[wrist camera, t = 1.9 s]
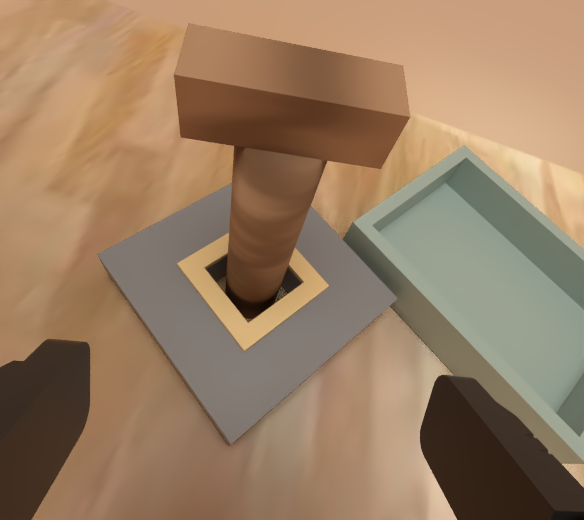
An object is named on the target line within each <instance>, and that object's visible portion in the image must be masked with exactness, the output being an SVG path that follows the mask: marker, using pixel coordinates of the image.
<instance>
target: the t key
mask: <svg viewBox="0 0 584 520" xmlns="http://www.w3.org/2000/svg"><path fill="white" fill-rule="evenodd" d="M174 79H175V88H176V97H177V107H178V116H179V125H180V135H181V137H182V138H188V139H195V140H201V141H207V142H214V143H220V144H226V145H233V146H234V160H233V176H232V193H231V210H230V227H229V243H228V260H227V277H226V293H225V294H226V296H227V297H228V298H229V299H230V301H231V302H232V303H233V305H234V306H235V307H236V308H237V310H238V311H239V312H240V313H241V315H242V316H243V317H244V318H249V319H253V318H256V317H257V316H259V315H260V314H261V313H263V312H264V311H265V310H267V309H268V308H270V307H271V306H272V305H274V302H275V299H276V297H277V294H278V291H279V289H280V286H281V283H282V281H283V278H284V275H285V273H286V270H287V267H288V265H289V262H290V259H291V257H292V254H293V251H294V248H295V246H296V243H297V240H298V238H299V235H300V232H301V230H302V227H303V224H304V222H305V219H306V216H307V214H308V211H309V208H310V206H311V203H312V200H313V198H314V195H315V192H316V190H317V187H318V184H319V181H320V179H321V176H322V173H323V171H324V168H325V165H326V163H327V161H334V162H340V163H346V164H353V165H359V166H365V167H371V168H378V169H381V167H382V166H383V164H384V162H385V160H386V159H387V157H388V155H389V153H390V151H391V150H392V148H393V146H394V144H395V143H396V141H397V139H398V137H399V136H400V134H401V132H402V130H403V129H404V127H405V125H406V123H407V121H408V120H409V118H410V112H409V106H408V98H407V91H406V83H405V76H404V69H403V66H402V65H397V64H392V63H387V62H382V61H377V60H372V59H367V58H362V57H356V56H351V55H346V54H342V53H336V52H331V51H326V50H321V49H316V48H311V47H306V46H301V45H296V44H291V43H286V42H281V41H276V40H271V39H265V38H260V37H255V36H250V35H245V34H240V33H235V32H230V31H225V30H220V29H214V28H210V27H205V26H199V25H194V24H188V27H187V31H186V34H185V38H184V41H183V45H182V48H181V52H180V55H179V59H178V62H177V66H176V69H175V73H174Z"/></svg>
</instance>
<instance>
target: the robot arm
mask: <svg viewBox="0 0 584 520" xmlns="http://www.w3.org/2000/svg"><path fill="white" fill-rule="evenodd" d="M89 406H90V347H89V345H88V343H87V342H78V341H67V340H56V339H47V340H45V341H44V342H43V343H42V344H41V345H40V346H39V347H38V348H37V349H36V350H35V351H34V352H33V353H32V354H31V355H30V356H29V357H28V358H27V359H26V360H25V361H12V362H10V363H8V364H6V365H4V366H2V367H0V520H31V519H32V518H33V516H34V514H35V512H36V511H37V509H38V507H39V506H40V504H41V502H42V500H43V499H44V497H45V495H46V494H47V492H48V490H49V489H50V487H51V485H52V483H53V482H54V480H55V478H56V477H57V475H58V473H59V471H60V470H61V468H62V466H63V465H64V463H65V461H66V459H67V458H68V456H69V454H70V453H71V451H72V449H73V447H74V446H75V444H76V442H77V441H78V439H79V437H80V435H81V434H82V432H83V429H84V427H85V424H86V421H87V417H88V413H89ZM420 444H421V449H422V452H423V455H424V457H425V459H426V461H427V463H428V465H429V467H430V469H431V470H432V472H433V474H434V476H435V478H436V480H437V482H438V484H439V486H440V488H441V489H442V491H443V493H444V495H445V497H446V499H447V501H448V503H449V505H450V507H451V508H452V510H453V512H454V514H455V516H456V518H457V520H584V488H583V487H582V486H581V485H580V484H579V482H578V481H577V480H576V479H575V478H574V477H573V476H572V475H571V474H570V473H569V472H568V471H567V470H566V468H565V467H564V466H563V465H562V464H561V463H560V462H559V461H558V460H557V459H556V458H555V457H554V456H553V455H552V454H549V453H548V449H547V448H546V447H545V446H544V445H543V444H542V443H541V442H540V441H539V440H538V438H534V434H533V433H532V432H531V431H530V430H529V429H528V428H527V427H526V426H525V424H524V423H523V422H522V421H521V420H520V419H519V418H518V417H517V416H516V415H514V414H513V413H511V412H510V411H509V410H507V409H506V408H504V407H503V406H502V405H500V404H499V403H497V402H496V401H495V400H494V399H493V398H492V397H491V396H490V394H489V393H488V392H487V391H486V390H485V389H484V388H483V387H482V386H481V385H480V383H479V382H478V381H477V380H476V379H474V378H471V377H460V376H449V375H441V376H439V377H438V378H437V379H436V381H435V383H434V386H433V390H432V393H431V396H430V399H429V403H428V406H427V409H426V412H425V416H424V419H423V422H422V425H421V430H420Z"/></svg>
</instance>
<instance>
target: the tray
mask: <svg viewBox="0 0 584 520" xmlns="http://www.w3.org/2000/svg"><path fill="white" fill-rule="evenodd" d="M343 241H344V242H345V243H346V244H347V245H348V246H349V247H350V248H351V249H352V250H353V251H354V252H355V253H356V254H357V255H358V256H359V258H360V259H361V260H362V261H363V262H364V263H365V264H366V265H367V266H368V267H369V268H370V269H371V270H372V271H373V272H374V274H375V275H376V276H377V277H378V278H379V279H380V280H381V281H382V282H383V283H384V284H385V285H386V286H387V287H388V288H389V289H390V291H391V292H392V293H393V294H394V295H395V296H396V297H397V298H398V299H397V300H396V301H395V302H393V303H392V304H391V305H390V306H391V307H392V308H393V309H394V310H395V311H396V313H397V314H398V315H399V316H400V317H401V318H402V319H403V320H404V321H405V322H406V323H407V324H408V326H409V327H410V328H411V329H412V330H413V331H414V332H415V333H416V334H417V335H418V336H419V337H420V338H421V340H422V341H423V342H424V343H425V344H426V345H427V346H428V347H429V348H430V349H431V350H432V351H433V352H434V354H435V355H436V356H437V357H438V358H439V359H440V360H441V361H442V362H443V363H444V364H445V365H446V367H447V368H448V369H449V370H450V371H451V372H452V373H453V374H454V375H455V376H460V377H471V378H474V379H476V380H477V381H478V382H479V383H480V385H481V386H482V387H483V388H484V389H485V390H486V391H487V392H488V393H489V394H490V396H491V397H492V398H493V399H494V400H495V401H496V402H497V403H499V404H500V405H502V406H503V407H504V408H506V409H507V410H509V411H510V412H511V413H513V414H514V415H516V416H517V417H518V418H519V419H520V420H521V421H522V422H523V423H524V424H525V426H526V427H527V428H528V429H529V430H530V431H531V432H532V433H533V434H534V438H538V440H539V441H540V442H541V443H542V444H543V445H544V446H545V447H546V448H547V449H548V453H549V454H552V455H553V456H554V457H555V458H556V459H557V460H558V461H559V462H560V463H561V464H584V249H583V248H582V247H581V246H580V245H578V244H577V243H576V242H575V241H574V240H573V239H571V238H570V237H569V236H568V235H567V234H566V233H565V232H563V231H562V230H561V229H560V228H559V227H558V226H557V225H555V224H554V223H553V222H552V221H551V220H550V219H549V218H547V217H546V216H545V215H544V214H543V213H542V212H540V211H539V210H538V209H537V208H536V207H535V206H534V205H532V204H531V203H530V202H529V201H528V200H527V199H526V198H524V197H523V196H522V195H521V194H520V193H519V192H518V191H516V190H515V189H514V188H513V187H512V186H511V185H509V184H508V183H507V182H506V181H505V180H504V179H503V178H501V177H500V176H499V175H498V174H497V173H496V172H495V171H493V170H492V169H491V168H490V167H489V166H488V165H487V164H485V163H484V162H483V161H482V160H481V159H480V158H478V157H477V156H476V155H475V154H474V153H473V152H472V151H470V150H469V149H468V148H467V147H466V146H465V145H464V146H462V147H461V148H459V149H458V150H456V151H455V152H454V153H452V154H451V155H449V156H448V157H446V158H445V159H443V160H442V161H441V162H439V163H438V164H436V165H435V166H433V167H432V168H430V169H429V170H428V171H426V172H425V173H423V174H422V175H420V176H419V177H417V178H416V179H415V180H413V181H412V182H410V183H409V184H407V185H406V186H404V187H403V188H402V189H400V190H399V191H397V192H396V193H394V194H393V195H391V196H390V197H389V198H387V199H386V200H384V201H383V202H381V203H380V204H378V205H377V206H376V207H374V208H373V209H371V210H370V211H368V212H367V213H365V214H364V215H363V216H361V217H360V218H358V219H357V220H355V221H354V222H353V223H352V225H351V227H350V228H349V230H348V232H347V233H346V235H345V237H344V239H343Z"/></svg>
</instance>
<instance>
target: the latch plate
mask: <svg viewBox="0 0 584 520" xmlns="http://www.w3.org/2000/svg"><path fill="white" fill-rule="evenodd" d="M231 193H232V183H231V184H229V185H227V186H225V187H223V188H221V189H219V190H218V191H216V192H214V193H212V194H210V195H208V196H206V197H204V198H203V199H201V200H199V201H197V202H195V203H193V204H191V205H189V206H187V207H186V208H184V209H182V210H180V211H178V212H176V213H174V214H172V215H170V216H169V217H167V218H165V219H163V220H161V221H159V222H157V223H155V224H153V225H152V226H150V227H148V228H146V229H144V230H142V231H140V232H138V233H136V234H135V235H133V236H131V237H129V238H127V239H125V240H123V241H121V242H120V243H118V244H116V245H114V246H112V247H110V248H108V249H106V250H104V251H103V252H101V253H99V254H97V255H98V257H99V259H100V261H101V262H102V264H103V266H104V268H105V269H106V271H107V273H108V274H109V276H110V277H111V279H112V280H113V282H114V283H115V284H116V286H117V287H118V289H119V290H120V292H121V293H122V294H123V296H124V297H125V299H126V300H127V301H128V303H129V304H130V306H131V307H132V309H133V310H134V311H135V313H136V314H137V316H138V317H139V319H140V320H141V321H142V323H143V324H144V326H145V327H146V328H147V330H148V331H149V333H150V334H151V336H152V337H153V338H154V340H155V341H156V343H157V344H158V345H159V347H160V348H161V350H162V351H163V353H164V354H165V355H166V357H167V358H168V360H169V361H170V363H171V364H172V365H173V367H174V368H175V370H176V371H177V372H178V374H179V375H180V377H181V378H182V380H183V381H184V382H185V384H186V385H187V387H188V388H189V389H190V391H191V392H192V394H193V395H194V397H195V398H196V399H197V401H198V402H199V404H200V405H201V407H202V408H203V409H204V411H205V412H206V414H207V415H208V416H209V418H210V419H211V421H212V422H213V424H214V425H215V426H216V428H217V429H218V431H219V432H220V433H221V435H222V436H223V438H224V439H225V441H226V442H227V443H228V445H229V446H230V445H231V444H232V443H234V442H235V441H236V440H237V439H238V438H239V437H240V436H242V435H243V434H244V433H245V432H246V431H247V430H248V429H250V428H251V427H252V426H253V425H254V424H255V423H256V422H258V421H259V420H260V419H261V418H262V417H263V416H264V415H266V414H267V413H268V412H269V411H270V410H271V409H272V408H274V407H275V406H276V405H277V404H278V403H279V402H280V401H282V400H283V399H284V398H285V397H286V396H287V395H288V394H290V393H291V392H292V391H293V390H294V389H295V388H296V387H298V386H299V385H300V384H301V383H302V382H303V381H304V380H306V379H307V378H308V377H309V376H310V375H311V374H312V373H314V372H315V371H316V370H317V369H318V368H319V367H320V366H322V365H323V364H324V363H325V362H326V361H327V360H328V359H330V358H331V357H332V356H333V355H334V354H335V353H336V352H338V351H339V350H340V349H341V348H342V347H343V346H344V345H346V344H347V343H348V342H349V341H350V340H351V339H352V338H354V337H355V336H356V335H357V334H358V333H359V332H360V331H362V330H363V329H364V328H365V327H366V326H367V325H368V324H370V323H371V322H372V321H373V320H374V319H375V318H376V317H378V316H379V315H380V314H381V313H382V312H383V311H384V310H386V309H387V308H388V307H389V306H390V305H391V304H392V303H393V302H395V301H396V300H397V299H398V298H397V297H396V296H395V295H394V294H393V293H392V292H391V291H390V289H389V288H388V287H387V286H386V285H385V284H384V283H383V282H382V281H381V280H380V279H379V278H378V277H377V276H376V275H375V274H374V272H373V271H372V270H371V269H370V268H369V267H368V266H367V265H366V264H365V263H364V262H363V261H362V260H361V259H360V258H359V256H358V255H357V254H356V253H355V252H354V251H353V250H352V249H351V248H350V247H349V246H348V245H347V244H346V243H345V242H344V241H343V239H342V238H341V237H340V236H339V235H338V234H337V233H336V232H335V231H334V230H333V229H332V228H331V227H330V226H329V225H328V223H327V222H326V221H325V220H324V219H323V218H322V217H321V216H320V215H319V214H318V213H317V212H316V211H315V210H314V209H313V208H312V206H310V208H309V211H308V214H307V216H306V219H305V222H304V224H303V227H302V230H301V232H300V235H299V238H298V240H297V243H296V246H295V248H294V251H293V254H292V257H291V259H290V262H289V265H288V267H287V270H286V273H285V275H284V278H283V281H282V283H281V285H282V286H283V288H284V289H285V290H286V291H287V292H288V293H289V294H287V295H286V296H285V297H283V298H282V299H280V300H279V301H278V302H276V303H275V304H274V305H272V306H271V307H270V308H268V309H267V310H265V311H264V312H263V313H261V314H260V315H259V316H257V317H256V318H254V319H253V320H252V321H250V322H249V323H248V322H247V321H246V320H245V318H244V317H243V316H242V315H241V313H240V312H239V311H238V310H237V308H236V307H235V306H234V305H233V303H232V302H231V301H230V299H229V298H228V297H227V296H226V294H225V293H224V292H223V291H222V289H221V288H220V287H219V286H218V284H217V283H216V281H217V280H219V279H220V278H222V277H223V276H225V275H227V260H228V243H229V227H230V210H231Z"/></svg>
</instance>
